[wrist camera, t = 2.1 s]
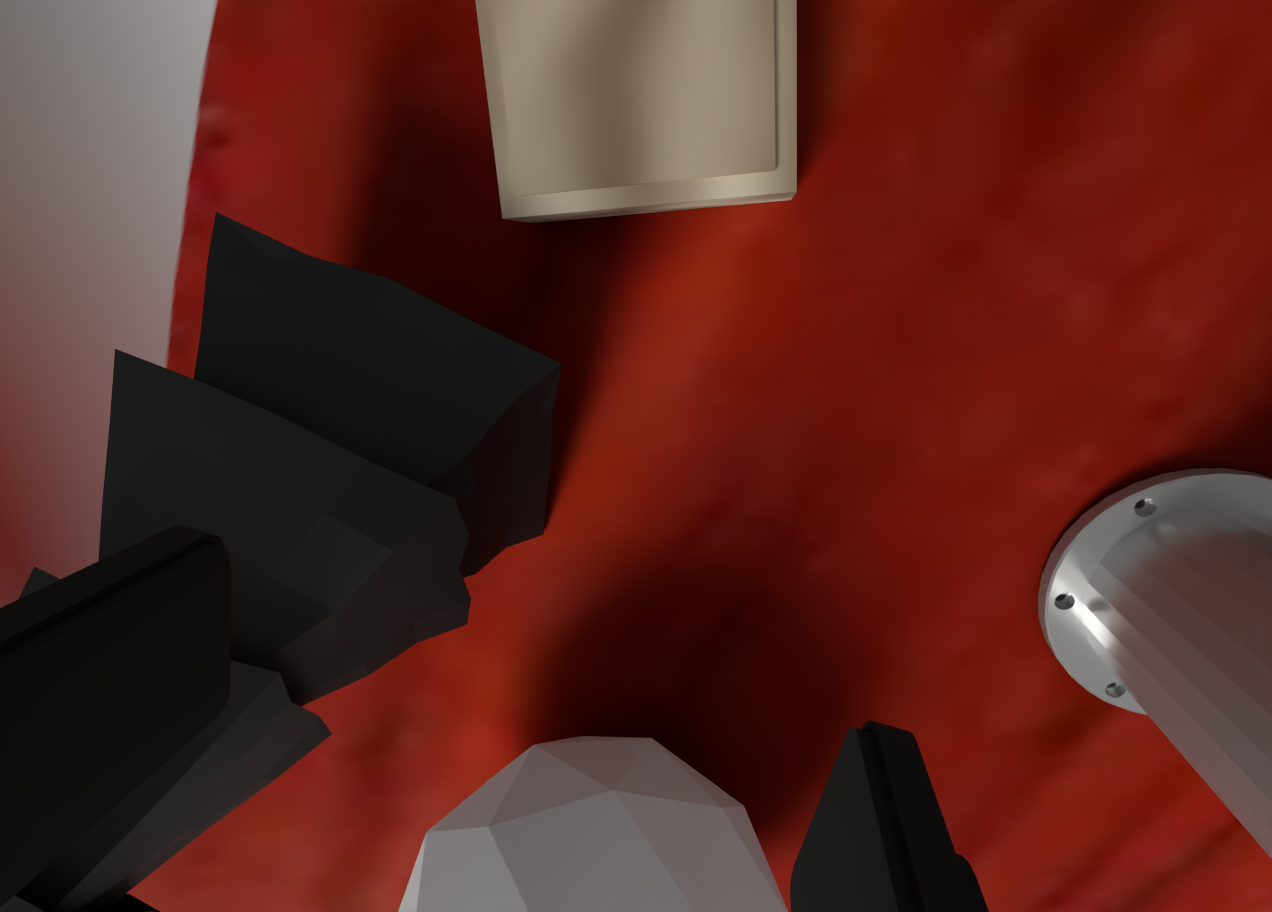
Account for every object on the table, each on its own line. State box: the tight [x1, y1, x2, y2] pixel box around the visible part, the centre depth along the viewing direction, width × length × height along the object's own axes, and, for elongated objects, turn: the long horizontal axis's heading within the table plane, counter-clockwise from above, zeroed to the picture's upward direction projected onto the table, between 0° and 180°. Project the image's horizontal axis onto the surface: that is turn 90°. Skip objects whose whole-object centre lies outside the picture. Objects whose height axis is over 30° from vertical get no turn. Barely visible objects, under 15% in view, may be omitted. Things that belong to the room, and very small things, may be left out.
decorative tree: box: [0, 212, 562, 912], centre depth 22 cm, size 15×15×35 cm
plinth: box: [475, 0, 797, 223], centre depth 26 cm, size 12×12×4 cm
